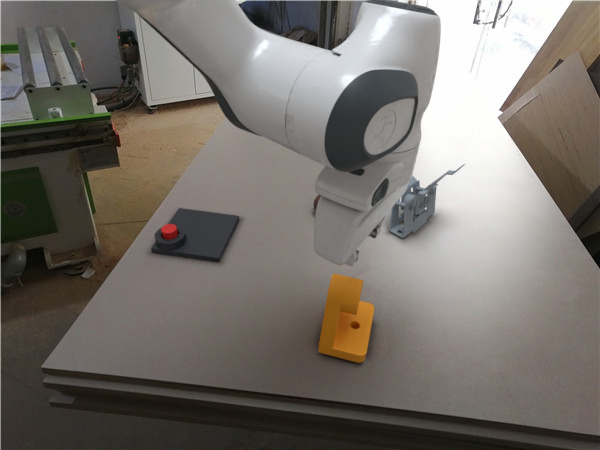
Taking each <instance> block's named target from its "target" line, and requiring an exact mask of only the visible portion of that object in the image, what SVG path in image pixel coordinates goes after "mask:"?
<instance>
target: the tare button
mask: <svg viewBox="0 0 600 450" xmlns="http://www.w3.org/2000/svg"><path fill="white" fill-rule="evenodd" d="M160 228H161V232H162V236H163V238H164V239H167V240H170V239H174V238H176V237H177V236H178V232H177V227H176V226H175V225H174V224H168V223H167V224H164V225H162V226H161V227H160Z"/></svg>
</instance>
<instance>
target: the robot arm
mask: <svg viewBox="0 0 600 450" xmlns="http://www.w3.org/2000/svg"><path fill="white" fill-rule="evenodd" d="M115 1H116V2H117V3H119V4H120V5H122V6H124V7H126V8H128V9H130V10H131V11H132V12H133V13H136V15H138V17H140V18H141V19H142V20H143V21H144V22H145V23H146V24H147V25H148V26H150V28H152V29H153V30H154V31H155V32H156V33H157V34H158V35H159V36H160V37H161V38H162V39H163V40H164V41H166V43H168V45H170V46H171V47H172V48H173V49H174V50H175V51H176V52H177V53H179V54H180V55H181V56H182V57H183V58H184V59H185V60H186V61H187V62H189V63H190V64H191V66H193V67H194V68H195V70H197V71H198V72H199V74H200V75H202V77H203V78H204V79H205V81H206V83H207V85H208V86H209V87H210V90H211V92H212V93H213V95H214V97H215V100H216V102H217V104H218V107H219V108H220V111H222V114H223V115H224V117H225V118H226V119H227V120H228V121H229V122H230V124H232V125H233V126H235V127H236V128H238V129H239V130H242V131H245V132H247V133H250V134H253V135H256V136H257V137H258V136H259V137H263V138H264V139H267V140H268V141H271V142H273V143H275V144H277V145H280V146H281V147H284V148H286V149H287V150H290V151H292V152H293V153H296V154H298V155H301V156H303V157H305V158H307V159H309V160H312V161H313V162H316V163H318V164H320V165H322V166H324V167H323V168H322V169H321V170H320V172H319V173H318V174H317V176H316V178H315V182H314V191H315V193H316V194H317V195H318V194H319V195H321V197H320V199H319V201H318V204H317V208H316V211H315V215H314V226H313V250H314V252H315V254H317V255H318V257H320V258H322V259H323V260H325V261H327V262H330V263H333V264H335V265H338V266H343V265H346V266H349V267H353V266H354V265H355V264H356V263H357V261H358V260H359V259H360V258H359V256H360V250H358V249H359V247H360V246H361V245H362V244H363V242H364V241H365V240H366V239H367V238H368V237H370V238H371V239H376V238H377V237H378V236H379V235H380V233H382V228H383V224H384V222H385V220H386V218H387V216H388V213H389V212H391V210H392V207H393V206H394V205H395V204H396V202H397V201H398V200H399V199H400V200H401V197H402V195H403V194H404V193H405V191H406V190H407V187H408V185H409V181H410V180H411V178H412V176H414V170H415V166H416V163H417V158H418V155H419V154H418V153H419V150H420V145H421V141H422V120H423V117H424V114H425V112H426V111H427V109H428V107H429V105H430V102H431V99H432V95H433V89H434V85H435V79H436V76H437V69H438V64H439V63H438V62H439V57H440V47H441V35H442V34H441V32H442V24H441V16H440V15H439V14H437V12H435V10H434V9H432V8H430V7H429V6H424V5H421V4H420V5H419V4H413V3H408V2H403V1H398V0H365V1H363V2H362V3H361V4H360V7H359V10H358V14H357V17H356V20H355V25H354V29H353V31H352V32H351V33H350V35H348V37H346V39H345V40H344V41H343V42H342V43H340V44H339V45H338V46H336V47H334V48H332V50H330V49H326V48H322V47H318V46H315V45H312V44H308V43H305V42H301V41H298V40H295V39H291V38H287V37H286V36H283V35H281V34H278V33H276V32H273V31H269V30H266V29H264V28H261V27H259V26H257V25H255V24H254V23H253V22H252V21H251V20H250V19H249V18H248V16H247V15H246V13H245V11H243V9H242V8H241V7H240V5H239V4H238V2H237V0H115Z"/></svg>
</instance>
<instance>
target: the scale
mask: <svg viewBox="0 0 600 450" xmlns="http://www.w3.org/2000/svg"><path fill="white" fill-rule="evenodd" d="M239 222H240V215H236V214H228V213H221V212H220V213H219V212H212V211H205V210H198V209H189V208H183V207H178V209H177V210H176V212H175V214H173V216H172V218H171V219H170V220H169V222H168V223H167V224H174V225H175V226H176V227H177V232H178V236H177V237H176V238H174V239H170V240H167V239H164V238H163V236H162V232H161V228H162V227H160V228H158V229H157V230H156V231H155V233H154V241H155V242H154V244H152V246H151V248H150V249H151V253H153V254H159V255H167V256H175V257H181V258H186V259H187V258H188V259H194V260H202V261H208V262H215V263H220V261H221V260H222V257H223V255H224V253H225V251H226V249H227V247H228V245H229V242H230V241H231V238H232V236H233V234H234V232H235V230H236V228H237V226H238V224H239Z"/></svg>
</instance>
